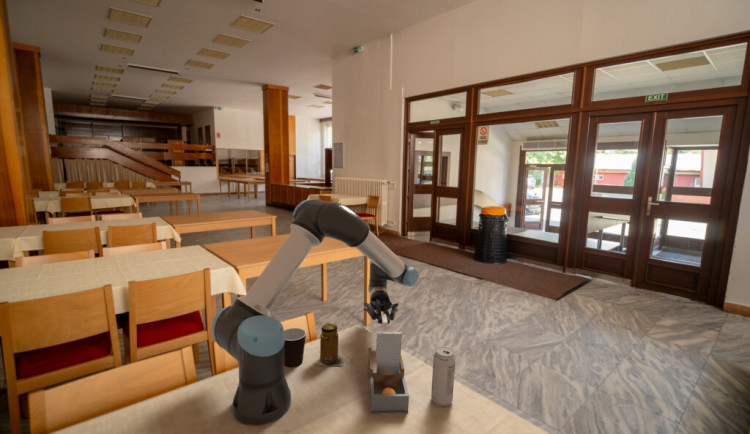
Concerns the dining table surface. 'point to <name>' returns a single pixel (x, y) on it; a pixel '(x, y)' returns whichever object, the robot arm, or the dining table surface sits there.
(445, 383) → the energy drink can
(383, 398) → the grey open box
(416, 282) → the robot arm
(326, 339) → the condiment
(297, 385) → the dining table surface
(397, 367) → the gray rectangular panel
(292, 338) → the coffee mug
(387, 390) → the ball
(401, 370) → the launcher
